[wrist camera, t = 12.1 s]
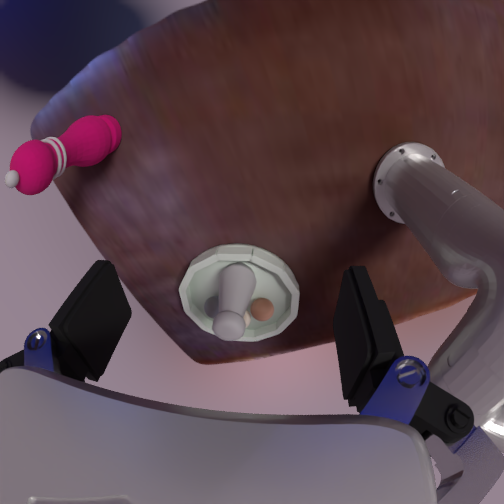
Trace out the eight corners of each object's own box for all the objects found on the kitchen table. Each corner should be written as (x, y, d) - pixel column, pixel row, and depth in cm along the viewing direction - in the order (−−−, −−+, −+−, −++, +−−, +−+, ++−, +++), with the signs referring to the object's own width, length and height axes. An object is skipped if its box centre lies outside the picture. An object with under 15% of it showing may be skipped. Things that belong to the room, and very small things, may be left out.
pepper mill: (128, 114, 32) (25, 150, 16) (121, 160, 36) (30, 222, 20) (90, 109, 32) (-13, 144, 15) (85, 152, 36) (-7, 207, 19)
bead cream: (252, 308, 50) (250, 307, 46) (251, 329, 49) (249, 330, 45) (230, 307, 50) (226, 306, 46) (229, 328, 49) (225, 329, 45)
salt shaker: (257, 257, 43) (250, 319, 32) (258, 285, 46) (251, 348, 35) (219, 256, 43) (201, 317, 32) (223, 285, 46) (208, 346, 35)
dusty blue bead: (229, 299, 49) (221, 289, 46) (231, 319, 47) (222, 311, 44) (209, 303, 50) (199, 294, 46) (209, 323, 47) (200, 315, 44)
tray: (301, 244, 42) (303, 255, 39) (293, 330, 53) (294, 342, 50) (175, 242, 44) (169, 252, 41) (195, 326, 54) (191, 337, 52)
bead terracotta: (273, 306, 49) (278, 297, 45) (268, 326, 47) (273, 320, 43) (252, 299, 49) (255, 291, 45) (246, 320, 47) (249, 313, 43)
